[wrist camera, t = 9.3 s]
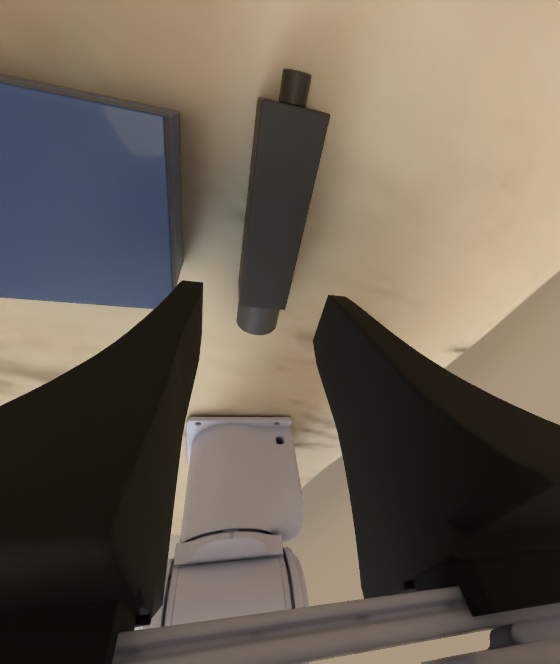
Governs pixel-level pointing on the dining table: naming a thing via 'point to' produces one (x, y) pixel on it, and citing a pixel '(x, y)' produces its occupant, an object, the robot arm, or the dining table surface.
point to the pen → (278, 200)
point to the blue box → (88, 197)
